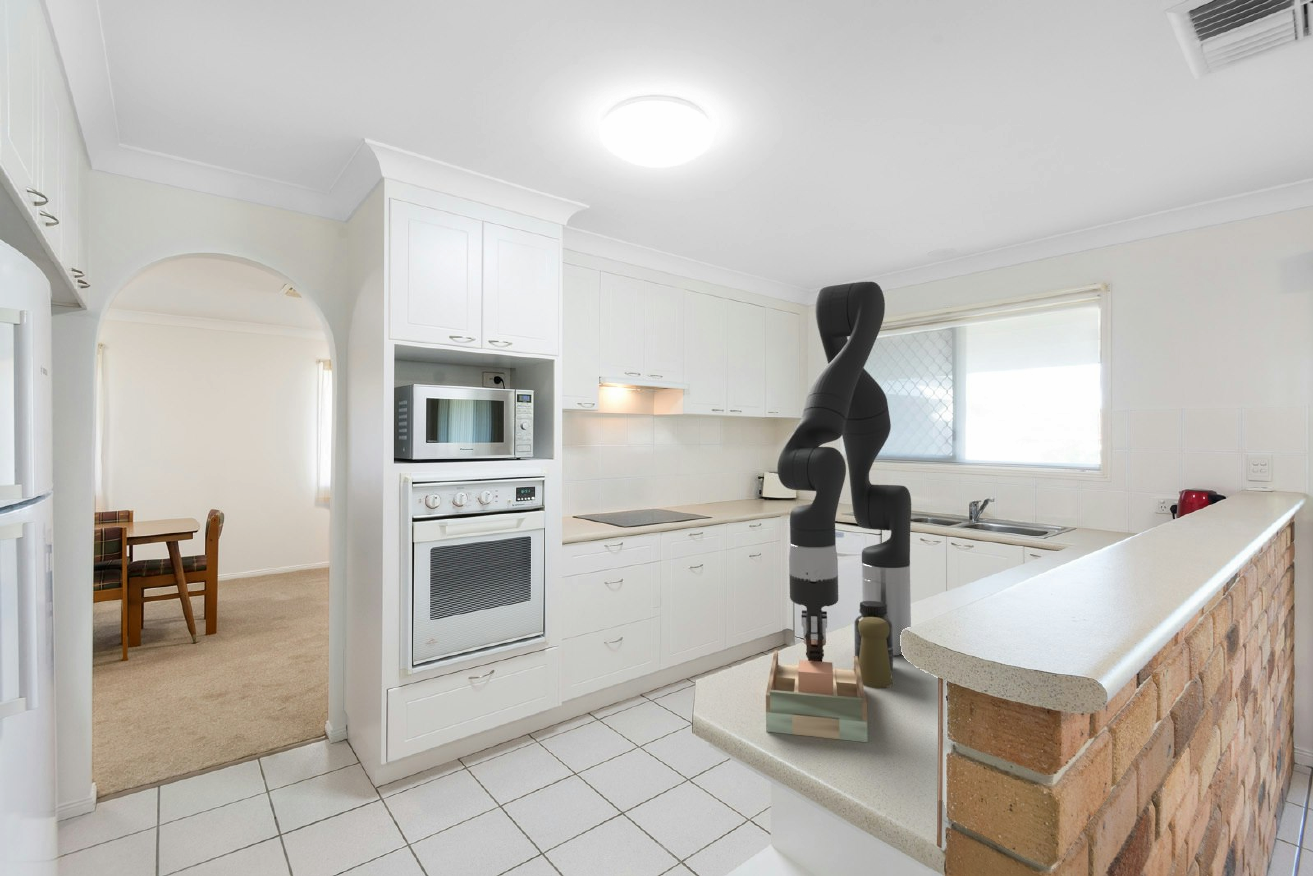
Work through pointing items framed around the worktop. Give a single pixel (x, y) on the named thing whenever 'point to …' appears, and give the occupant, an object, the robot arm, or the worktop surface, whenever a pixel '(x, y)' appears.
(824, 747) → the worktop surface
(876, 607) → the supplement bottle
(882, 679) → the cork
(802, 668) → the block
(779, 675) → the wooden organizer box
